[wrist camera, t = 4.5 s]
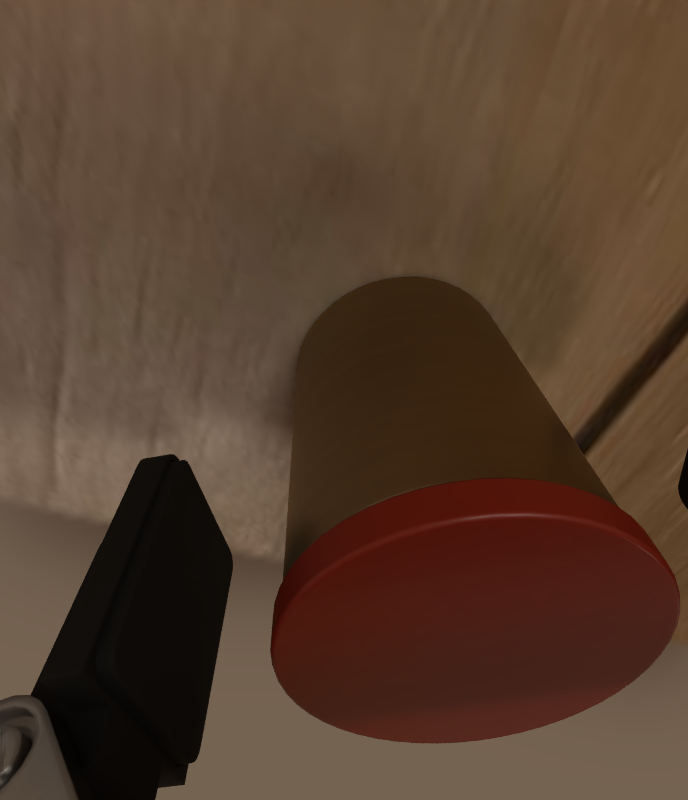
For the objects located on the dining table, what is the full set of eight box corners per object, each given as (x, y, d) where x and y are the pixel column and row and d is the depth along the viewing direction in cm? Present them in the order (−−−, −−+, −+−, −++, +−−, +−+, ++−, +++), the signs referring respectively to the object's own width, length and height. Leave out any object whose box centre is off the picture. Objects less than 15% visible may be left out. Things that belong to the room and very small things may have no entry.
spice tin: (317, 469, 14) (317, 763, 8) (268, 295, 11) (212, 560, 5) (506, 438, 14) (647, 720, 8) (506, 249, 11) (731, 477, 5)
